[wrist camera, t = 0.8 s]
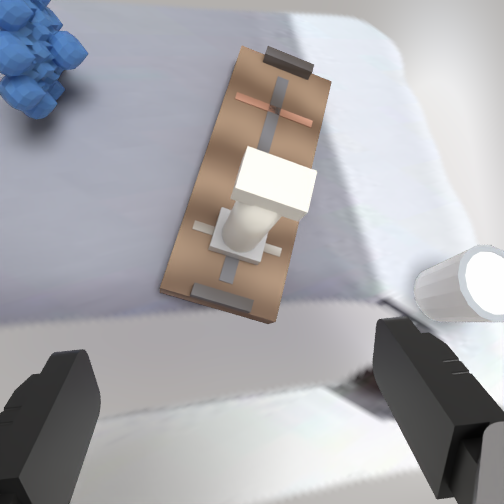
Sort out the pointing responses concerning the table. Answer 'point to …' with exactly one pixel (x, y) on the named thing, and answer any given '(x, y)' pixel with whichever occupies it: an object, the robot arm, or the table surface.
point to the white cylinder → (464, 287)
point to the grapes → (34, 56)
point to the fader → (261, 204)
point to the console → (224, 176)
